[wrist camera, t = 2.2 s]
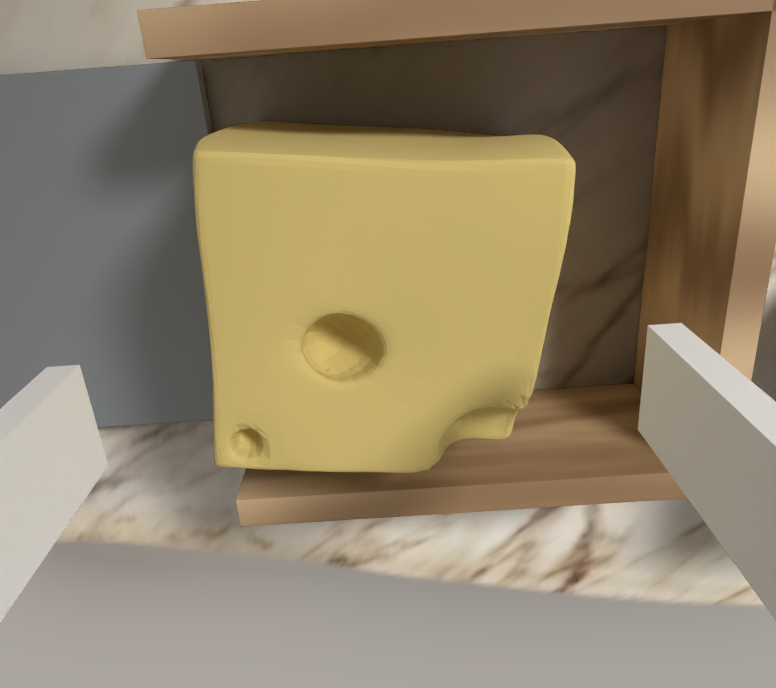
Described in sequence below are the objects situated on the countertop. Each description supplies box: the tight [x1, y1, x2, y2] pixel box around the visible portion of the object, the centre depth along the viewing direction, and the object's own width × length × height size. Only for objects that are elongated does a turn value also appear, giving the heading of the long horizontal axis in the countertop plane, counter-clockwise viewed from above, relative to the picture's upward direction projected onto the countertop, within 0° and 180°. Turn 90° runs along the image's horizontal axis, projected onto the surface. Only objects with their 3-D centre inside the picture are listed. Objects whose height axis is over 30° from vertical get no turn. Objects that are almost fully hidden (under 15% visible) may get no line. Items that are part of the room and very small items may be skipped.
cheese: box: [192, 121, 576, 473], centre depth 23 cm, size 10×11×10 cm
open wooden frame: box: [137, 0, 776, 526], centre depth 24 cm, size 17×18×7 cm
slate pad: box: [0, 60, 213, 427], centre depth 27 cm, size 15×13×1 cm
